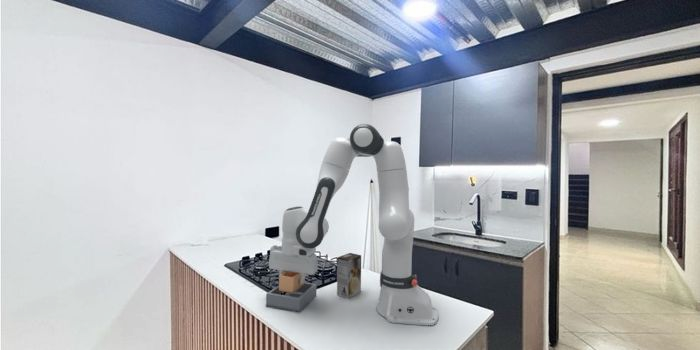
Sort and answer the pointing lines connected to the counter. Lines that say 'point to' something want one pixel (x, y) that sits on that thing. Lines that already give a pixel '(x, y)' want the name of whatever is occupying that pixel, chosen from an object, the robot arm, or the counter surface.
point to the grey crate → (291, 298)
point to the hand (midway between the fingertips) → (292, 282)
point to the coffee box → (348, 275)
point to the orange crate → (289, 282)
